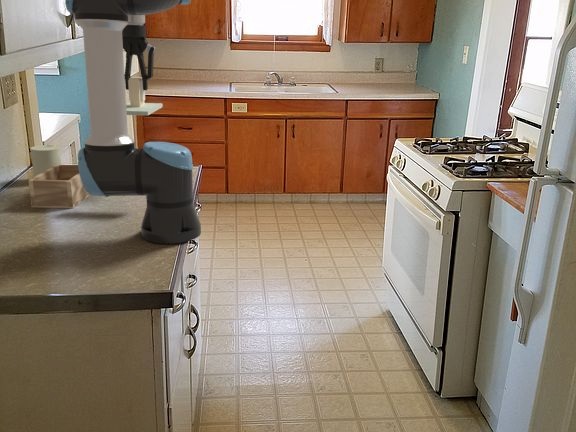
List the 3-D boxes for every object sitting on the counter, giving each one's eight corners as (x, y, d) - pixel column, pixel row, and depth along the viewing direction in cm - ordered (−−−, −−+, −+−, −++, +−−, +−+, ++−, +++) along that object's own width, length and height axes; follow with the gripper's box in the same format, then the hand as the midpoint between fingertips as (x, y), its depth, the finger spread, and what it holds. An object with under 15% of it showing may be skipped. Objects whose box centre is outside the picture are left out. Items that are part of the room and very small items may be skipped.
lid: (148, 115, 170) (146, 81, 167) (106, 114, 170) (104, 80, 167) (162, 106, 189) (161, 76, 186) (125, 105, 189) (123, 75, 186)
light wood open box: (73, 208, 160) (70, 181, 157) (31, 207, 160) (28, 180, 157) (96, 189, 179) (94, 165, 176) (59, 188, 179) (56, 164, 176)
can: (68, 178, 191) (65, 144, 187) (55, 185, 182) (51, 149, 178) (42, 177, 192) (39, 142, 188) (28, 183, 183) (24, 148, 179)
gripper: (161, 25, 177) (164, 99, 184) (110, 23, 177) (116, 98, 184) (156, 24, 170) (159, 102, 177) (103, 23, 169) (109, 101, 177)
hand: (137, 100), depth 180 cm, fingers closed on lid, 3 cm apart
